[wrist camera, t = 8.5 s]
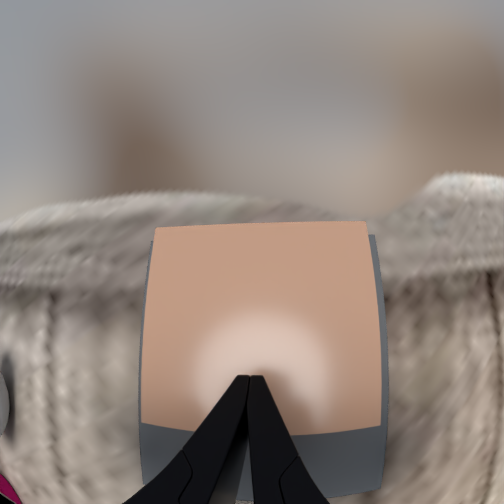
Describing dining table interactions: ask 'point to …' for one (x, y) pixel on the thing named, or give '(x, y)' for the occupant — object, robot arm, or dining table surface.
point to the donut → (3, 404)
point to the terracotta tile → (263, 323)
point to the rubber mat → (308, 446)
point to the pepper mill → (8, 490)
